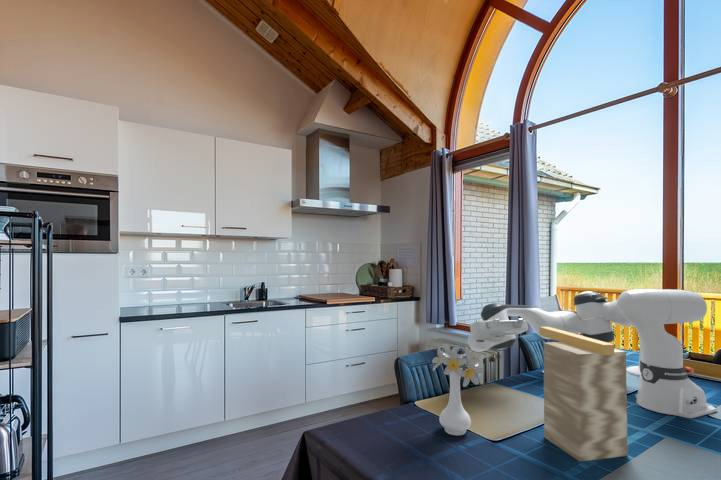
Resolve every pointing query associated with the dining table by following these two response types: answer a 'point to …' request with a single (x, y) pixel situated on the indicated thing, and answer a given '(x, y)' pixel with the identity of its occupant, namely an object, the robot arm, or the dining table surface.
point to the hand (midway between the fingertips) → (509, 320)
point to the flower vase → (457, 386)
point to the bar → (578, 340)
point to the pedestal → (585, 401)
